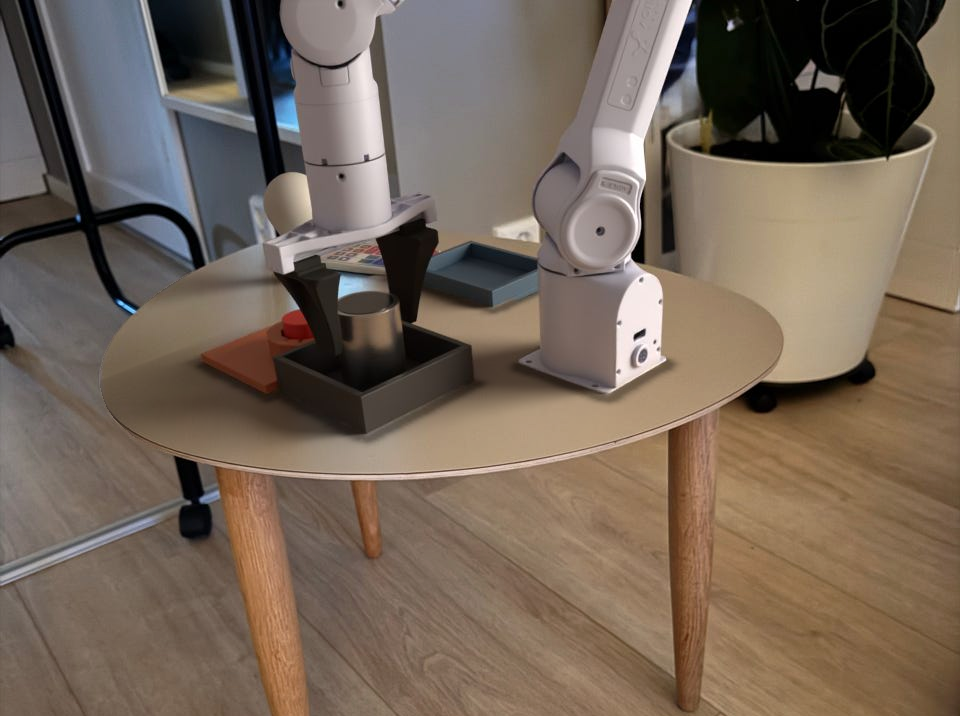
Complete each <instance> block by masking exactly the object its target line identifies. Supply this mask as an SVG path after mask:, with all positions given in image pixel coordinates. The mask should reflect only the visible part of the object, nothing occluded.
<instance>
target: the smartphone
mask: <svg viewBox="0 0 960 716" xmlns="http://www.w3.org/2000/svg"><path fill="white" fill-rule="evenodd" d="M439 252H441V251H440V250H436V249H435V251H434V253H433V255H434V254H437V253H439ZM321 263H325V264H326V269H329V270H332V271H341V272H343V271H344V272H351V273H359V274H360V273H361V274H368V275H379V276H381V275H383V276H387V275H386V271H385V267H384V263H383V259H382V256H381V253H380V250H379V247H378V244H377V243H370V242H365V243H362V244H359V245H356V246H353V247H350V248H347V249H344V250H342V251H339V252H336V253H333V254H330V255H327V256H324V257H321Z"/></svg>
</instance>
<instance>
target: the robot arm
mask: <svg viewBox="0 0 960 716" xmlns="http://www.w3.org/2000/svg"><path fill="white" fill-rule="evenodd" d="M403 2H405V0H280V5H279V9H280V10H279V18H280V23H281V27H282V30H283V33H284V35H285V38H286V39H287V41H288V43H289V44H290V46H291V47H292V49H291V57H290V63H289V66H290V71H291V76H292V78H293V80H294V81H295V87H294V89H293V100H294V105H295V112H296V119H297V124H298V131H299V137H300V144H301V150H302V157H303V161H304V169H305V175H306V176H307V182H308V189H309V195H310V201H311V208H312V218H313V219H311V220H309V221H307V222H305V223H303V224H302V225H300V226H298V227H296V228H294V229H292V230H290V231H289V232H287V233H285V234H283V235H281V236H280V235H279V236H276V237H274V238H272V239H269V240H267V241H266V240H265V241H264V242H263V241H262V248H263V254H264V259H265V263H266V268H267V270H269V271H272V272H273V275H274V276H275V278H277V280H278V281H279V282H280V283H281V285H282V286H283V287H284V289H285V290H286V292H287V293H288V294H289V295H290V296H291V298H292V300H293V301H294V303H295V304H296V305H297V307H298V309H300V310H301V312H302V314H303V316H304V318H305V320H306V322H307V324H308V326H309V328H310V330H311V332H312V335H313V337H314V339H315V342H316V344H317V347H318V350H320V351H322V352H324V353H327V354H329V355H331V356H336V355H339V354H341V349H342V341H341V333H340V326H339V319H338V298H339V288H340V281H341V278H342V277H341V276H342V274H341V273H340V272H338V271H336V270H333V269H326V264H325V263H321V257H324V256H327V255H330V254H333V253H336V252H339V251H342V250H344V249H347V248H350V247H353V246H356V245H359V244H362V243H368V242H370V241H373V240H375V242H376V244H378V247H379V250H380V253H381V256H382V259H383V263H384V267H385V271H386V275H385V276H386V281H387V287H388V292H389V293H392V294H394V295H396V296H397V297H398V299H399V304H400V313H401V320H402V321H405V322H408V323H411V324H414V323H416V322H417V321H418V314H419V307H420V301H421V296H422V291H423V286H424V285H423V281H424V277H425V274H426V271H427V268H428V265H429V262H430V260H431V257H432V255H433V253H434V251H435V250H436V249H437V247H438V246H439V244H440V241H439V239H440V238H439V231H438V230H437V229H435V228H432V227H429V226H427V225H429V224H432V223H435V222H437V221H438V214H437V205H436V196H435V195H431V194H427V193H422V192H415V193H412V194H408V195H403V196H400V197H394V198H391V190H390V182H389V173H388V164H387V156H386V148H385V147H386V146H385V140H384V138H385V137H384V131H383V123H382V112H381V105H380V96H379V86H378V83H377V81H375V78H374V76H373V66H372V58H371V57H372V56H371V48H370V45H371V43H372V41H373V38H374V35H375V30H376V18H377V17H379V16H382V15H391V14H393V13H394V12H395V11H396V9H397V8H399V7H400V6H401V5H402V4H403ZM692 2H693V0H611V4H610V6H609V10H608V13H607V16H606V18H605V19H606V20H605V23H604V26H603V30H602V33H601V36H600V39H599V42H598V45H597V49H596V52H595V56H594V59H593V62H592V65H591V67H590V71H589V75H588V78H587V81H586V84H585V88H584V91H583V95H582V97H581V101H580V104H579V107H578V110H577V113H576V116H575V118H574V119H573V121H572V122H571V124H570V125H569V126H568V127H567V129H566V130H565V131H564V133H563V134H562V135H561V136H560V138H559V142H558V144H557V148H556V151H555V153H554V155H553V158H551V160H550V162H549V163H548V164H547V165H546V166H545V168H543V170H542V171H541V172H540V173H539V174H538V176H537V178H536V179H535V181H534V184H533V186H532V188H531V189H532V190H531V195H530V207H531V211H532V215H533V217H534V219H535V221H536V222H537V224H538V225H539V226H540V228H541V229H543V230H544V231H545V232H544V237H543V241H542V243H541V245H540V247H539V249H538V251H537V254H536V258H537V260H538V291H537V295H538V319H539V321H538V322H539V323H538V324H539V348H538V349H537V350H535V351H532V352H530V353H529V354H527V355H525V356H523V357H521V358H519V359H518V364H520V365H522V366H525V367H528V368H531V369H533V370H536V371H538V372H541V373H543V374H544V373H545V374H547V375H550V376H552V377H555V378H558V379H561V380H564V381H566V382H569V383H572V384H574V385H576V386H580V387H583V388H585V389H589V390H591V391H593V392H597V393H599V394H602V395H607V394H611V393H613V392H614V391H616V390H618V389H620V388H621V387H624V386H625V385H627V384H628V383H630V382H632V381H633V380H635V379H637V378H639V377H640V376H642V375H644V374H646V373H647V372H649V371H650V370H653V369H654V368H656V367H658V366H660V365H662V363H664V362H666V361H667V357H666V356H664V355H662V337H663V335H662V333H663V309H664V293H663V288H662V287H663V286H662V285H661V282H660V280H659V279H658V277H657V276H656V275H654V274H652V273H650V272H648V271H646V270H644V269H642V268H641V267H639V265H637V264H636V262H635V261H634V260H633V259H632V252H633V251H634V250H635V247H636V245H637V244H638V241H639V238H640V236H641V230H642V218H641V209H640V206H641V205H640V203H641V197H642V193H643V190H644V187H645V184H646V181H647V171H646V159H645V149H644V148H645V146H644V142H645V138H646V135H647V133H648V130H649V127H650V124H651V121H652V118H653V115H654V112H655V109H656V107H657V104H658V101H659V98H660V95H661V92H662V89H663V86H664V83H665V81H666V77H667V75H668V72H669V69H670V66H671V63H672V60H673V57H674V54H675V50H676V49H677V45H678V42H679V40H680V37H681V35H682V31H683V29H684V26H685V22H686V19H687V17H688V14H689V10H690V8H691V5H692Z"/></svg>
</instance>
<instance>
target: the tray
mask: <svg viewBox="0 0 960 716" xmlns="http://www.w3.org/2000/svg"><path fill="white" fill-rule="evenodd" d="M423 286H426V287H429V288H432V289H435V290H437V291H441V292H445V293H447V294H451V295H454V296H457V297H460V298H462V299H465V300H469V301H472V302H476V303H478V304H482V305H485V306H488V307H492V308H494V307H496V306H499V305H501V304H503V303H505V302H507V301H508V302H509V301H510V300H515V301H519V300H521V299H524V298H526V297H528V296H530V295H532V294H535V293H538V260H537V257H534V256H531V255H528V254H523V253H519V252H516V251H512V250H508V249H505V248H500V247H497V246H493V245H489V244H485V243H481V242H477V241H474V240H469V241H466V242H464V243H460V244H458V245H456V246H453V247H450V248H447V249H444V250H442V251H440V252H439V253H437V254H434V255H432V257H431V260H430V262H429V265H428V268H427V271H426V274H425V277H424V281H423Z"/></svg>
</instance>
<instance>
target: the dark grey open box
mask: <svg viewBox="0 0 960 716" xmlns="http://www.w3.org/2000/svg"><path fill="white" fill-rule="evenodd" d="M401 322H402V330H403V339H404V347H405V356H406V364H407V372H405V373H402V374H400V375H398V376H396V377H394V378H392V379H390V380H387V381H385V382H383V383H381V384H379V385H377V386H375V387H372V388H370V389H368V390H366V391H364V392H360V391H358V390H356V389H353V388H351V387H349V386H347V385H344V384H343V380H342V373H341V367H340V361H339V355H336V356H331V355H329V354H327V353H324V352H322V351H320V350H318V347H317V344H316V342H315V340H313V341H310V342H308V343H305V344H303V345H300V346H298V347H296V348H293V349H291V350H288V351H286V352H283V353H281V354H279V355H276V356H274V357H273V362H274V367H275V372H276V377H277V382H278V387H279V389H278V391H279V393H282V394H284V395H286V396H288V397H290V398H292V399H294V400H296V401H298V402H300V403H302V404H304V405H306V406H308V407H310V408H312V409H314V410H316V411H318V412H320V413H322V414H324V415H326V416H329V417H330V418H333V419H335V420H336V421H338V422H341V423H342V424H344V425H347V426H349V427H350V428H351V429H352V428H353V429H354V430H357V431H359V432H361V433H363V434H365V435H368V434H370V433H371V432H374V431H376V430H378V429H380V428H382V427H384V426H386V425H388V424H390V423H391V422H394V421H396V420H398V419H399V418H401V417H404V416H406V415H408V414H409V413H412V412H414V411H415V410H417V409H420V408H421V407H424V406H425V405H428V404H429V403H431V402H434V401H435V400H438V399H439V398H442V397H443V396H445V395H447V394H450V393H452V392H453V391H455V390H457V389H460V388H461V387H463V386H465V385H467V384H470V383H472V382H473V381H475V372H474V360H473V346H472V344H469V343H466V342H464V341H461V340H458V339H457V338H456V339H455V338H453V337H450V336H448V335H445V334H441V333H439V332H436V331H433V330H431V329H428V328H425V327H422V326H420V325H416V324H414V323H408V322H405V321H402V320H401Z"/></svg>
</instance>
